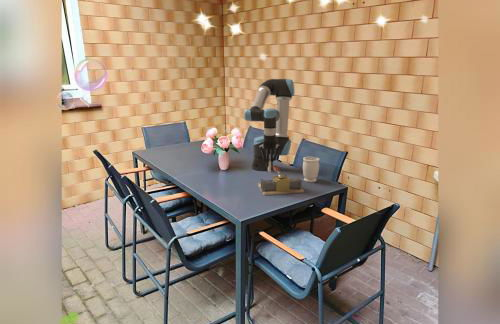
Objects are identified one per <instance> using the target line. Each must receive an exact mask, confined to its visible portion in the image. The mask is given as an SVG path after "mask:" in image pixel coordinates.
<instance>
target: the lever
mask: <svg viewBox="0 0 500 324" xmlns="http://www.w3.org/2000/svg"><path fill="white" fill-rule="evenodd" d="M272 169H273V171H274V172H276V173H277V174H278V175H277V176H278V177H279V178H284V175H285V174H284V173H283V172H282V171H281V169H280V167H279V166H278V165H273V166H272Z"/></svg>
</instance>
